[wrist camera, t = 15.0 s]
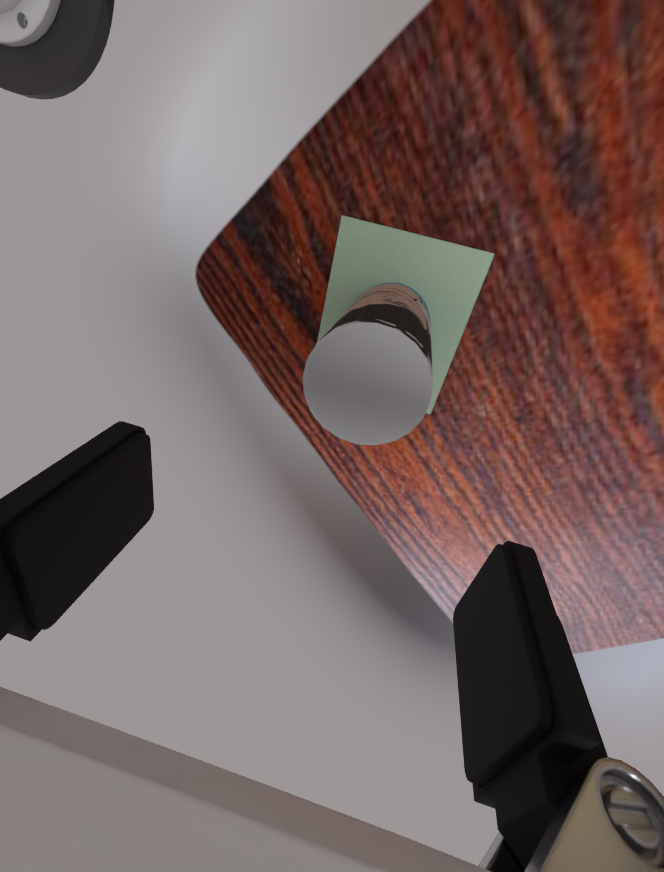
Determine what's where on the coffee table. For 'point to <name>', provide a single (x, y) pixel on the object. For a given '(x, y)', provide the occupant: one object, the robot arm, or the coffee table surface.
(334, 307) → the mat
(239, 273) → the coffee table surface
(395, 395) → the cup
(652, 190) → the coffee table surface
